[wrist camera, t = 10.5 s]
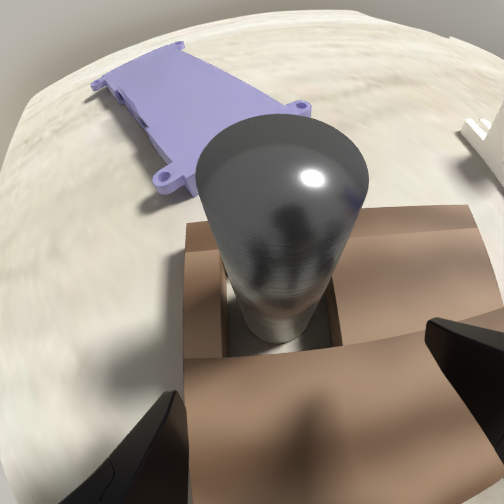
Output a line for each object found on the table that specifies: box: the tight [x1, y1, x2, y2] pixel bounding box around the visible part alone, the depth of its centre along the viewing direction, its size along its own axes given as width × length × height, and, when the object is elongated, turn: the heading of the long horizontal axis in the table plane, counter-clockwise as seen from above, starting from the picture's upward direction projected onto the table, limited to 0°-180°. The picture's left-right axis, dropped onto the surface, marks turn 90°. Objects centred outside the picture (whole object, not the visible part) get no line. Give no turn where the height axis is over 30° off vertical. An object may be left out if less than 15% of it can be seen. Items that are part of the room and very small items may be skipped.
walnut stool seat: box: [183, 205, 504, 504], centre depth 13 cm, size 20×20×2 cm
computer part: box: [91, 41, 312, 198], centre depth 26 cm, size 30×4×15 cm
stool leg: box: [195, 114, 369, 344], centre depth 12 cm, size 4×4×12 cm
